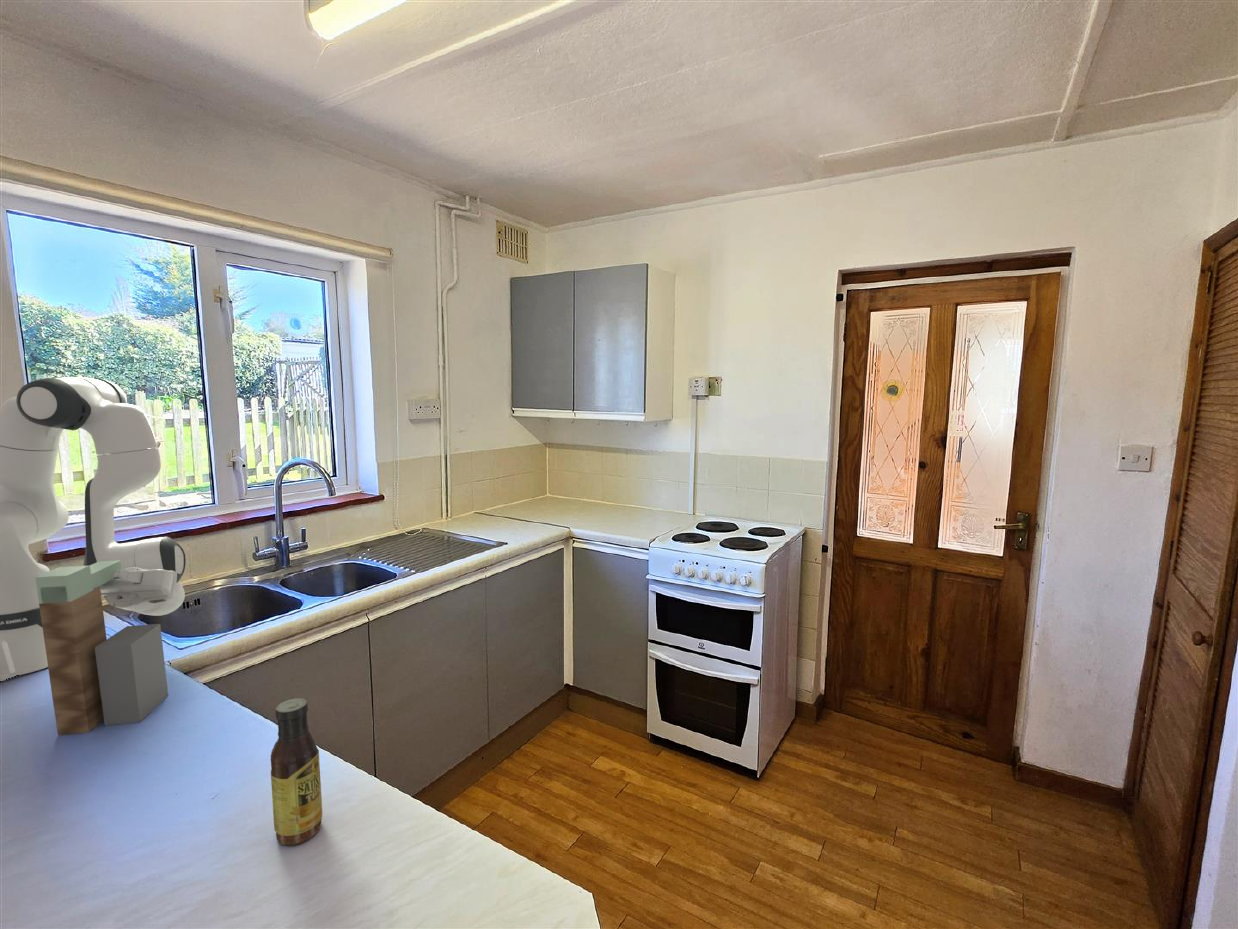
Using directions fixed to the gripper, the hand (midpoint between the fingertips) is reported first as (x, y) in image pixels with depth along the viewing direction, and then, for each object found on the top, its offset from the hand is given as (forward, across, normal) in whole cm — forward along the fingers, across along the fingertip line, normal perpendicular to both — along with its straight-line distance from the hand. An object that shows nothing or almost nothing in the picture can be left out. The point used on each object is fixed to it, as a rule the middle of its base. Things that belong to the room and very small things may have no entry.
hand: (90, 575), depth 115 cm
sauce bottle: (+25, +50, +47) cm, 73 cm away
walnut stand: (-9, 0, +27) cm, 28 cm away
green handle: (+1, 0, +2) cm, 3 cm away
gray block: (-11, +7, +26) cm, 29 cm away
